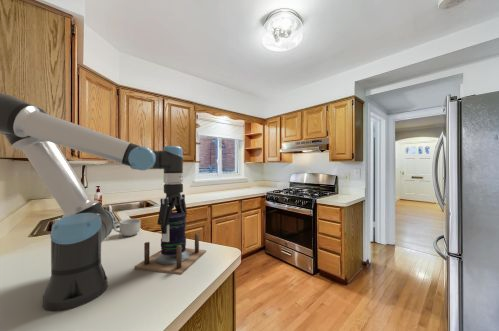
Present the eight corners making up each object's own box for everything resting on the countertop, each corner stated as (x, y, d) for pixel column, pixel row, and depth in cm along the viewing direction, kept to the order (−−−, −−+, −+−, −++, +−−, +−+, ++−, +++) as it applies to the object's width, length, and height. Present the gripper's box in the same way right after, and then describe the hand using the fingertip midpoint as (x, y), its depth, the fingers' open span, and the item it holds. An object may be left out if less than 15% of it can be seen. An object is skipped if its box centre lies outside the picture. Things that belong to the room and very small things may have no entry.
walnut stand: (181, 276, 73) (181, 249, 74) (134, 270, 78) (134, 245, 78) (206, 253, 93) (206, 232, 93) (167, 249, 98) (167, 229, 98)
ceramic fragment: (109, 225, 130) (106, 220, 138) (109, 230, 131) (106, 224, 138) (128, 222, 138) (124, 218, 145) (128, 227, 138) (124, 222, 145)
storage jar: (165, 258, 79) (165, 218, 79) (157, 250, 86) (157, 214, 86) (190, 250, 85) (190, 214, 85) (180, 244, 93) (180, 211, 93)
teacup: (137, 230, 127) (137, 217, 127) (143, 234, 119) (143, 220, 119) (110, 235, 117) (110, 221, 117) (115, 240, 109) (115, 225, 109)
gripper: (164, 186, 74) (164, 248, 74) (194, 181, 96) (195, 229, 96) (146, 185, 76) (146, 246, 75) (180, 181, 97) (180, 228, 97)
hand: (173, 236), depth 86 cm, fingers closed on storage jar, 10 cm apart
